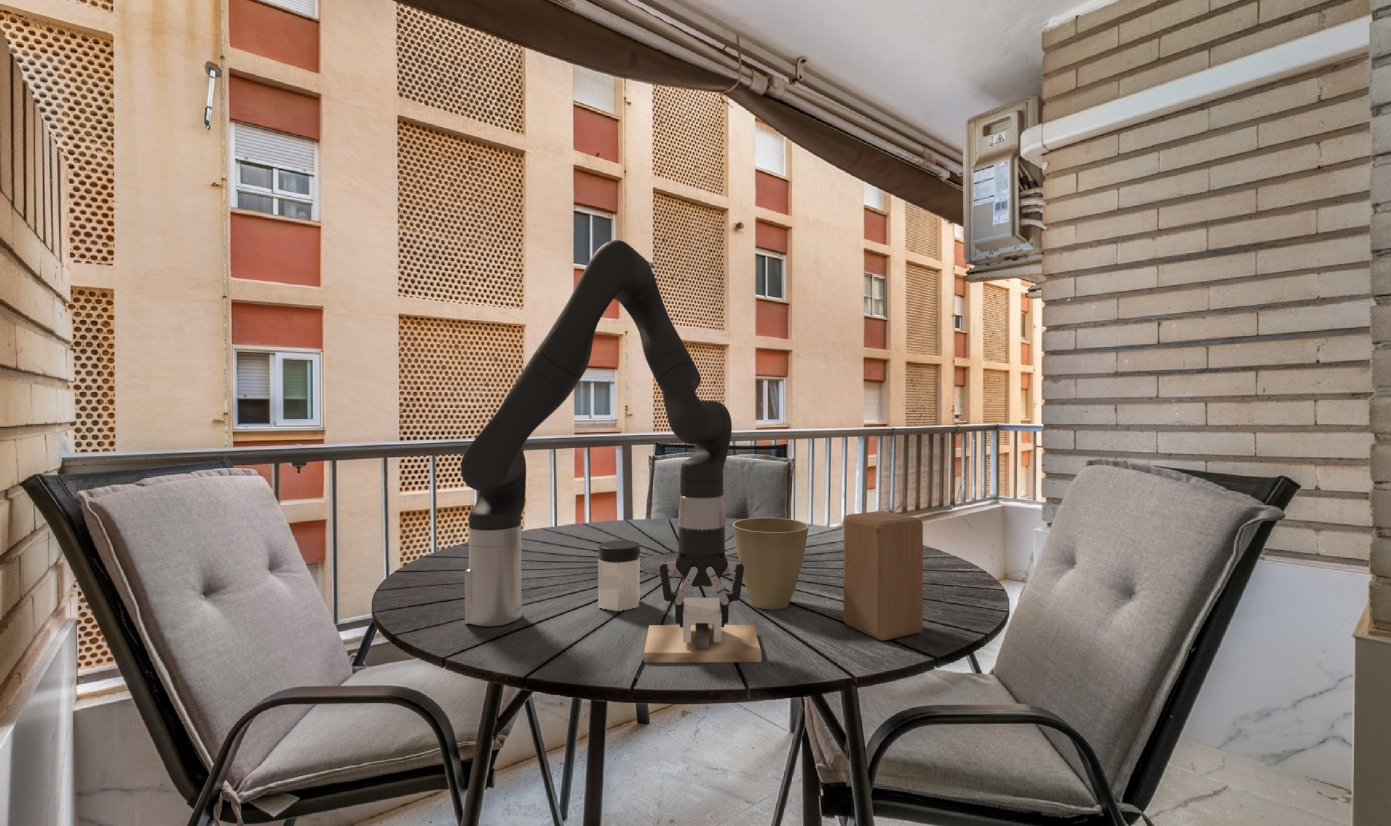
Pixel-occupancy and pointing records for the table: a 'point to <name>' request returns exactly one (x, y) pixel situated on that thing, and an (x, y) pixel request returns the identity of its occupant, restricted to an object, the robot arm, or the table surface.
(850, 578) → the wooden block
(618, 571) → the jar
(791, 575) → the plant pot
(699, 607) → the notched grey block
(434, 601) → the table surface
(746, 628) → the stand
